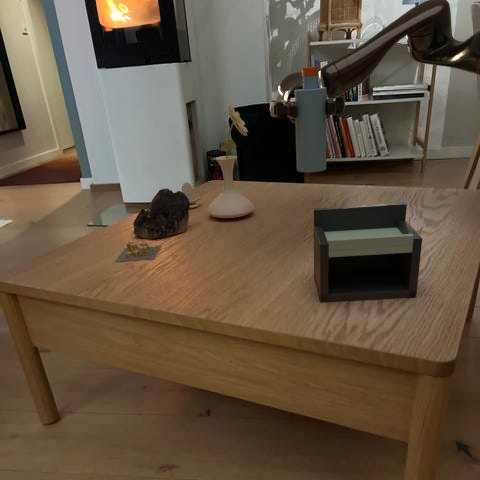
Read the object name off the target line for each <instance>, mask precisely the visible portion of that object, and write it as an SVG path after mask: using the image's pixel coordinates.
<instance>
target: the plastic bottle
mask: <svg viewBox="0 0 480 480" xmlns="http://www.w3.org/2000/svg"><path fill="white" fill-rule="evenodd" d="M301 70H302V71H301V72H302V76H303V89H299V90H295V103H296V115H297V118H295V119H296V124H295V155H296V156H295V159H296V171H297V172H299V173H317V172H323V171H325V170H326V169H327V116H326V88H324V87H323V88H318V86H319V66H308V67H307V66H306V67H302V68H301Z"/></svg>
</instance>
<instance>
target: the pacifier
mask: <svg viewBox="0 0 480 480" xmlns="http://www.w3.org/2000/svg"><path fill="white" fill-rule="evenodd" d="M181 192H183V193H184V194H185V195H186V196H187V198H188V199H189V202H190V207H189V209H194V208H197V207H198V206H199V204H198V203H197V202H199V201H200V200H201V199H202V196H200V197H197V198H195V199H193V194H192V193H193V185H192V183H190V182H188V181H187V182H184V183H182V186H181Z"/></svg>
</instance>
